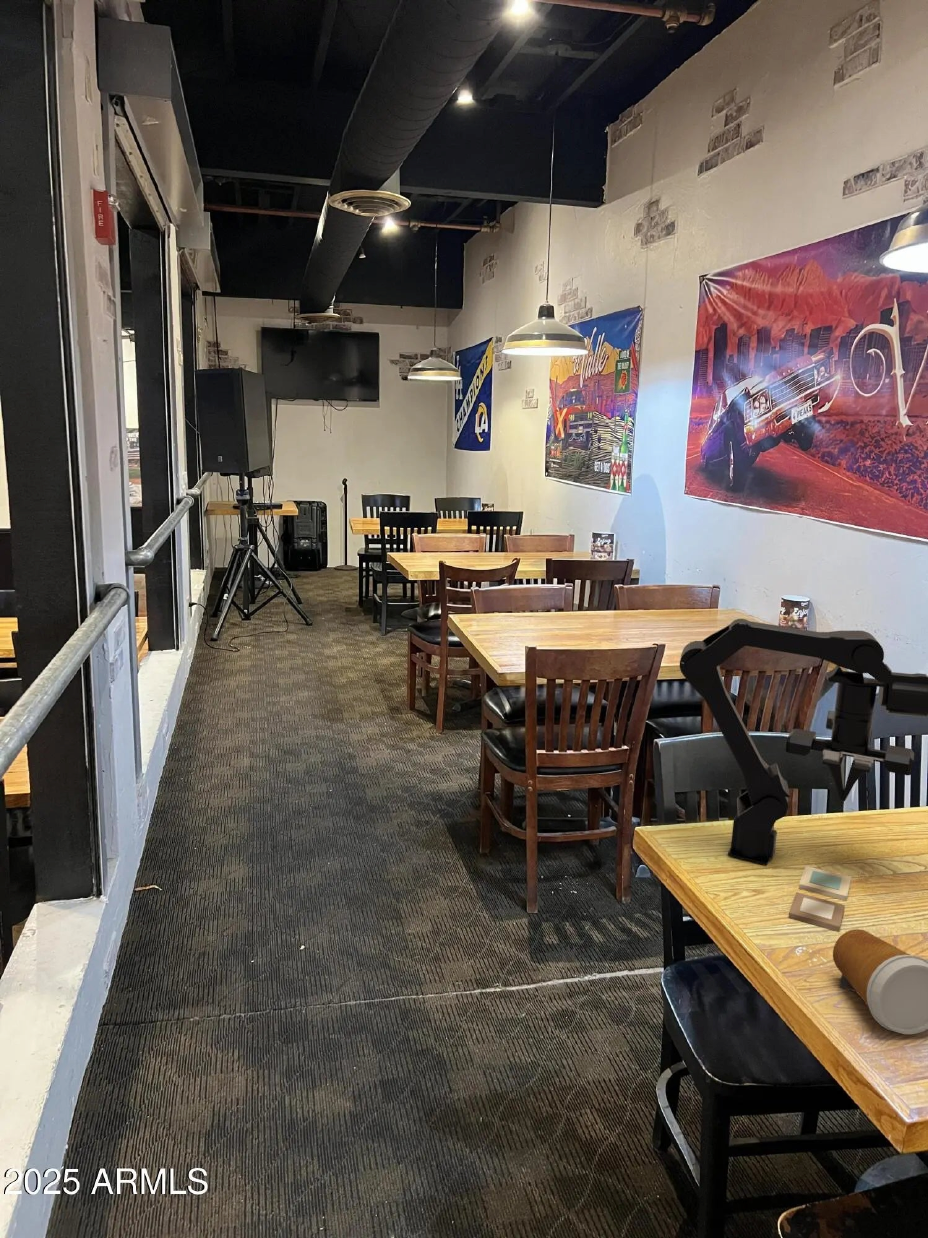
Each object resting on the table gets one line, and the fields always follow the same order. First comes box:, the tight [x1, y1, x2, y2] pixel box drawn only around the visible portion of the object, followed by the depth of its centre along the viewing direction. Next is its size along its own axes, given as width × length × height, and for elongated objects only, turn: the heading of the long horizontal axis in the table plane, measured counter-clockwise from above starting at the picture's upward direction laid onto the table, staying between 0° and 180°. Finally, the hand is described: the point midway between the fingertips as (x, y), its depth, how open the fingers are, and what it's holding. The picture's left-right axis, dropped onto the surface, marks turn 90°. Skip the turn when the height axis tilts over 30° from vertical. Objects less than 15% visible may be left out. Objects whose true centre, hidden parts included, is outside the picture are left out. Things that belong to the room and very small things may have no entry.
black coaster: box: [839, 973, 857, 993], centre depth 110 cm, size 4×4×1 cm
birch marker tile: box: [798, 865, 852, 902], centre depth 135 cm, size 7×7×1 cm
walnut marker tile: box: [787, 891, 846, 932], centre depth 127 cm, size 7×7×1 cm
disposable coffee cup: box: [832, 928, 928, 1035], centre depth 105 cm, size 10×10×12 cm
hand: (842, 800), depth 139 cm, fingers closed
